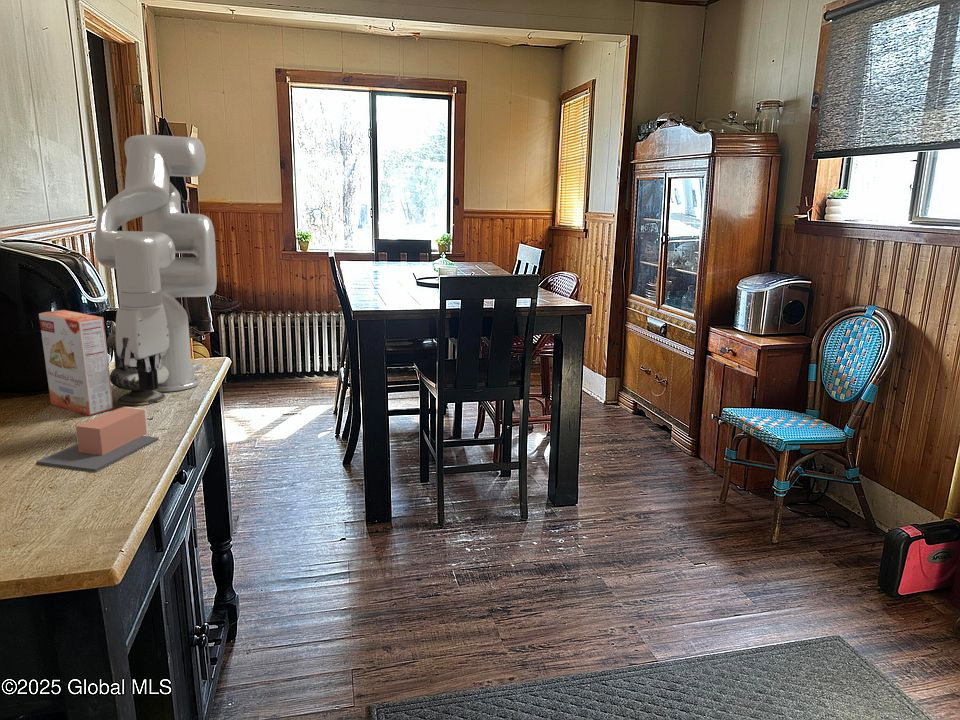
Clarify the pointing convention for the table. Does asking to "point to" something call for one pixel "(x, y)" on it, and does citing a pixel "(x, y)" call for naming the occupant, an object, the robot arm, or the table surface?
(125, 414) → the salmon pink block
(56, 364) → the cracker box
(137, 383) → the apothecary jar
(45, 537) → the table surface
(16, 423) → the table surface
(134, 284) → the robot arm
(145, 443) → the mat
